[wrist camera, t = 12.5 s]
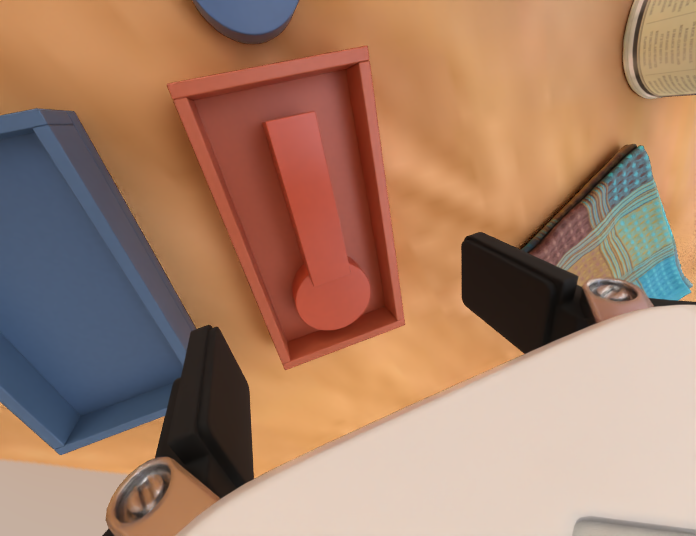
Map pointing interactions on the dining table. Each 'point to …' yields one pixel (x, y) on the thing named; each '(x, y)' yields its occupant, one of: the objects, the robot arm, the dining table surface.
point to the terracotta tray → (266, 194)
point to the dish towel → (616, 230)
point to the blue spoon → (248, 18)
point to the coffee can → (661, 48)
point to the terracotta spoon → (315, 226)
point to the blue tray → (78, 291)
